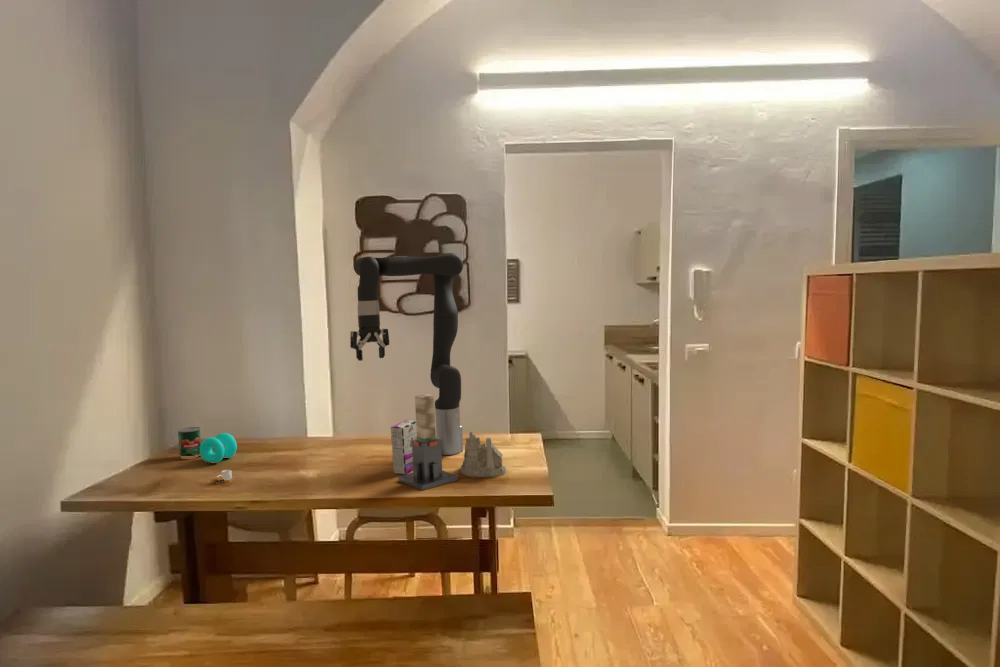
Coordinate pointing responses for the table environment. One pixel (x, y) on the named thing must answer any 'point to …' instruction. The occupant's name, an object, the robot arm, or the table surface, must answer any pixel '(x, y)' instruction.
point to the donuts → (218, 447)
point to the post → (425, 418)
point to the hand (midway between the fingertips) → (370, 359)
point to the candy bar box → (403, 446)
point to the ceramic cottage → (482, 458)
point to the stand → (427, 466)
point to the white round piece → (226, 474)
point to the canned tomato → (189, 441)
